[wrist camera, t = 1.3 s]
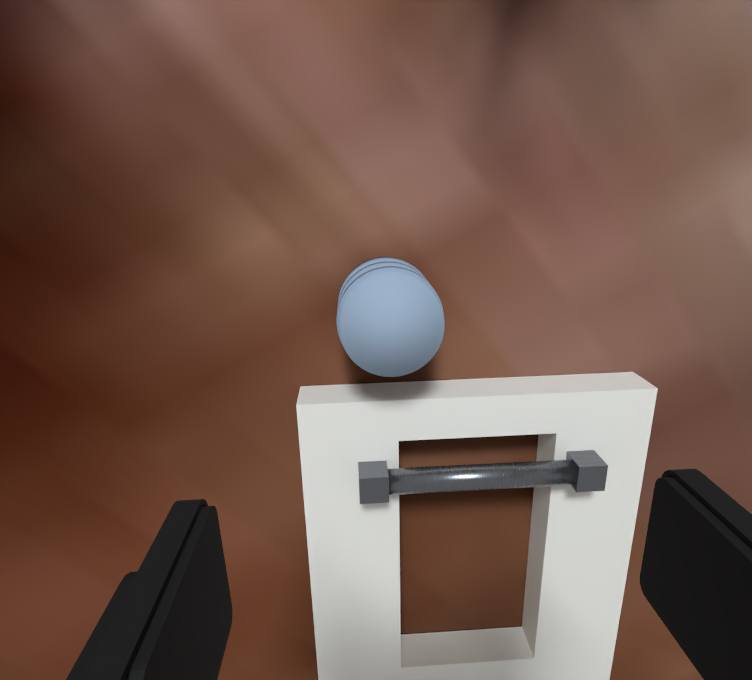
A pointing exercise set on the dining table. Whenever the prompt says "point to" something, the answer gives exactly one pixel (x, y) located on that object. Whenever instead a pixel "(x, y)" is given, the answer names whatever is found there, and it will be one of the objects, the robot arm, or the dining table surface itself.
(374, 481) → the dark gray bar handle
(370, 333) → the stacked blue discs
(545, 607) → the white frame with handle
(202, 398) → the dining table surface
